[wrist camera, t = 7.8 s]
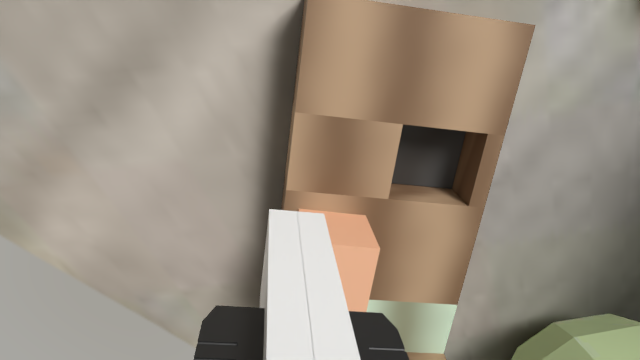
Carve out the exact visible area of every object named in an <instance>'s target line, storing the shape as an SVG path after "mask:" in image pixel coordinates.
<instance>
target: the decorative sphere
mask: <svg viewBox="0 0 640 360" xmlns="http://www.w3.org/2000/svg"><path fill="white" fill-rule="evenodd" d="M511 360H640V322H637V321H634V320H630V319H627V318H623V317H620V316H616V315H613V314H603V315H593V316H587V317H581V318H575V319H569V320H563V321H557V322H553V323H551V324H550V325H548V326H547V327H546V328H544V329H543V330H541V331H540V332H538V333H537V334H536V335H534V336H533V337H531V338H530V339H528V340H527V341H526V342H524V343H523V344H521V345H520V346H518V347H517V349H516V351H515V353H514V355H513V357H512V359H511Z"/></svg>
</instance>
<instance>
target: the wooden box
mask: <svg viewBox="0 0 640 360" xmlns="http://www.w3.org/2000/svg"><path fill="white" fill-rule="evenodd" d="M534 28H535V25H531V24H524V23H517V22H510V21H503V20H497V19H490V18H483V17H476V16H469V15H463V14H456V13H449V12H442V11H436V10H429V9H422V8H415V7H408V6H402V5H395V4H388V3H381V2H374V1H368V0H304V8H303V17H302V26H301V35H300V44H299V53H298V62H297V71H296V80H295V89H294V98H293V107H292V116H291V125H290V134H289V143H288V152H287V161H286V170H285V179H284V188H283V197H282V206H281V210H287V211H298V210H299V209H307V210H317V211H327V212H337V213H347V214H357V215H366V217H367V219H368V222H369V224H370V226H371V229H372V231H373V233H374V236H375V238H376V240H377V242H378V245H379V247H380V252H379V257H378V261H377V266H376V270H375V275H374V279H373V284H372V288H371V293H370V297H369V302H368V307H367V311H366V312H375V313H383V314H384V315H385V316H386V318H387V319H388V320H389V321H390V322H391V323H392V324H393V325H394V326H395V327H396V328H397V329H398V332H399V334H400V337H401V339H402V342H403V344H404V347H405V352H407V355H408V357H409V360H446V358H445V356H444V351H445V347H446V343H447V340H448V336H449V333H450V329H451V326H452V322H453V318H454V315H455V311H456V308H457V304H458V300H459V297H460V293H461V290H462V286H463V283H464V279H465V275H466V272H467V268H468V265H469V261H470V258H471V254H472V250H473V247H474V243H475V240H476V236H477V232H478V229H479V225H480V222H481V218H482V215H483V211H484V207H485V204H486V200H487V197H488V193H489V190H490V186H491V182H492V179H493V175H494V172H495V168H496V164H497V161H498V157H499V154H500V150H501V147H502V143H503V139H504V136H505V132H506V129H507V125H508V122H509V118H510V114H511V111H512V107H513V104H514V100H515V96H516V93H517V89H518V86H519V82H520V79H521V75H522V71H523V68H524V64H525V61H526V57H527V53H528V50H529V46H530V43H531V39H532V36H533V32H534Z"/></svg>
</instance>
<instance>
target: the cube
mask: <svg viewBox="0 0 640 360" xmlns="http://www.w3.org/2000/svg"><path fill="white" fill-rule="evenodd" d="M298 211H299V212H311V213H323V214H324V215H325V219H326V223H327V227H328V231H329V235H330V239H331V243H332V247H333V251H334V255H335V259H336V263H337V267H338V271H339V275H340V279H341V283H342V287H343V291H344V295H345V299H346V303H347V307H348V311H356V312H366V311H367V307H368V302H369V297H370V293H371V288H372V284H373V279H374V275H375V270H376V266H377V261H378V257H379V252H380V247H379V245H378V242H377V240H376V238H375V236H374V233H373V231H372V229H371V226H370V224H369V222H368V219H367V217H366V215H357V214H347V213H337V212H327V211H317V210H307V209H299V210H298Z"/></svg>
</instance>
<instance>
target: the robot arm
mask: <svg viewBox="0 0 640 360" xmlns="http://www.w3.org/2000/svg"><path fill="white" fill-rule="evenodd" d="M194 360H409V357H408V355H407V352H405V347H404V344H403V342H402V339H401V337H400V334H399V332H398V329H397V328H396V327H395V326H394V325H393V324H392V323H391V322H390V321H389V320H388V319H387V318H386V316H385V315H384V314H383V313H375V312H356V311H348V307H347V303H346V299H345V295H344V291H343V287H342V283H341V279H340V275H339V271H338V267H337V263H336V259H335V255H334V251H333V247H332V243H331V239H330V235H329V231H328V227H327V223H326V219H325V215H324V214H323V213H311V212H299V211H287V210H275V209H269V216H268V226H267V235H266V244H265V254H264V263H263V273H262V282H261V291H260V308H251V307H233V306H216V307H215V308H214V309H213V310H212V311H211V312H210V313H209V314H208V316H207V317H206V318H205V319H204V320H203V321H202V325H201V329H200V334H199V338H198V344H197V347H196V351H195V356H194Z"/></svg>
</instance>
